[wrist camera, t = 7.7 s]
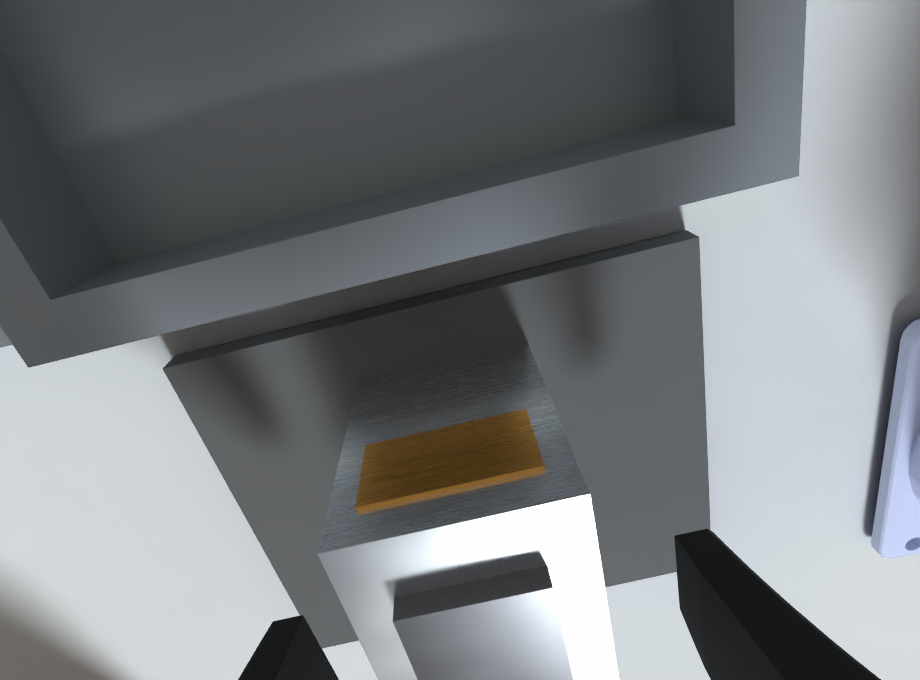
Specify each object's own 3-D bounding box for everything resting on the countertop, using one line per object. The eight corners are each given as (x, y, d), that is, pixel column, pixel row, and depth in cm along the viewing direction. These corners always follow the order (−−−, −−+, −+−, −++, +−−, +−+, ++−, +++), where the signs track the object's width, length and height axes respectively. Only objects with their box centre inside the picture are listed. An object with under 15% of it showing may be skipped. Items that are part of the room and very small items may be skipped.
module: (527, 338, 12) (598, 510, 7) (564, 532, 14) (635, 755, 10) (356, 378, 12) (310, 572, 7) (423, 562, 15) (422, 796, 10)
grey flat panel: (686, 229, 12) (699, 237, 11) (701, 548, 16) (711, 564, 15) (174, 356, 12) (162, 368, 12) (322, 630, 16) (318, 649, 16)
